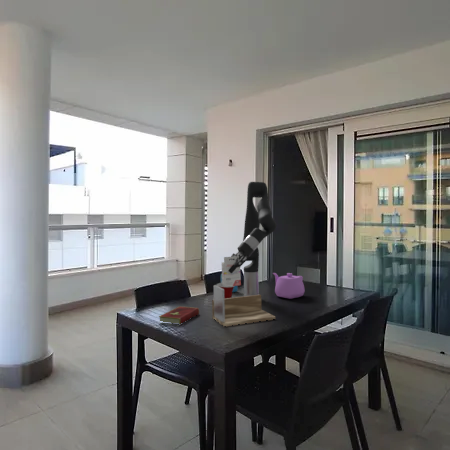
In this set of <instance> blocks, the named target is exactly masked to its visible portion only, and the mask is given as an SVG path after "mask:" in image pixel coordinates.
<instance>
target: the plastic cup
mask: <svg viewBox="0 0 450 450" xmlns="http://www.w3.org/2000/svg"><path fill="white" fill-rule="evenodd" d="M216 286H218V287H220V288H223V289H224V299H226V298H233V296H232V295H233V293H232V291H233V288H234V286H228V287H225V286H223V285H222V283H221V282H219V283H216Z"/></svg>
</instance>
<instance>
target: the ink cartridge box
mask: <svg viewBox="0 0 450 450" xmlns="http://www.w3.org/2000/svg"><path fill="white" fill-rule="evenodd" d="M231 258H232V259H235V260H236V259H237V258H238V261H239V256H234V257H231V256H224V257H223V261H221V274H222V285H223V286H225V287H228V286H242V283H241V281H242V279H241V267H238V268H236V269H235V270H234V271H233V273H230V272H229V269H230V268H231V267H232V265H233V264H234V263H235V260H229V259H231Z"/></svg>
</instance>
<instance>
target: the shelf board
mask: <svg viewBox="0 0 450 450" xmlns="http://www.w3.org/2000/svg"><path fill="white" fill-rule="evenodd" d="M211 303H212V304H211V306H212V308H211V309H212V310H211V313H212V319H213V320H214V319H215V320H216V321H215V320H214V321H215V322H217V323H218V322H219V323H218V324H219V325H221V326H222V325H223V327H224V326H226V327H232V325H233V326H238V324H240V325H246V324H245V323H247V324H252V323H253V322H254V323H260V322H259V321H261V322H266V320H268V321H274V320H273V319H275V320H276V316H275V315H273V314H271V313H269V312H267V311H266V310H263V309H262V294H259V295H252V296H244V295H243V296H236V297H234V296H233V297H232V298H226V299H224V305H225V322H221V321H220V320H219V319H217V318H216V317H214V299H212V301H211Z"/></svg>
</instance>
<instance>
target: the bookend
mask: <svg viewBox="0 0 450 450" xmlns="http://www.w3.org/2000/svg"><path fill="white" fill-rule="evenodd" d="M213 300H214V317H216V318H217V319H219V320H220V321H221V322H225V305H224V289H223V288H220V287H218V286H217V284H214V285H213Z"/></svg>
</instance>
